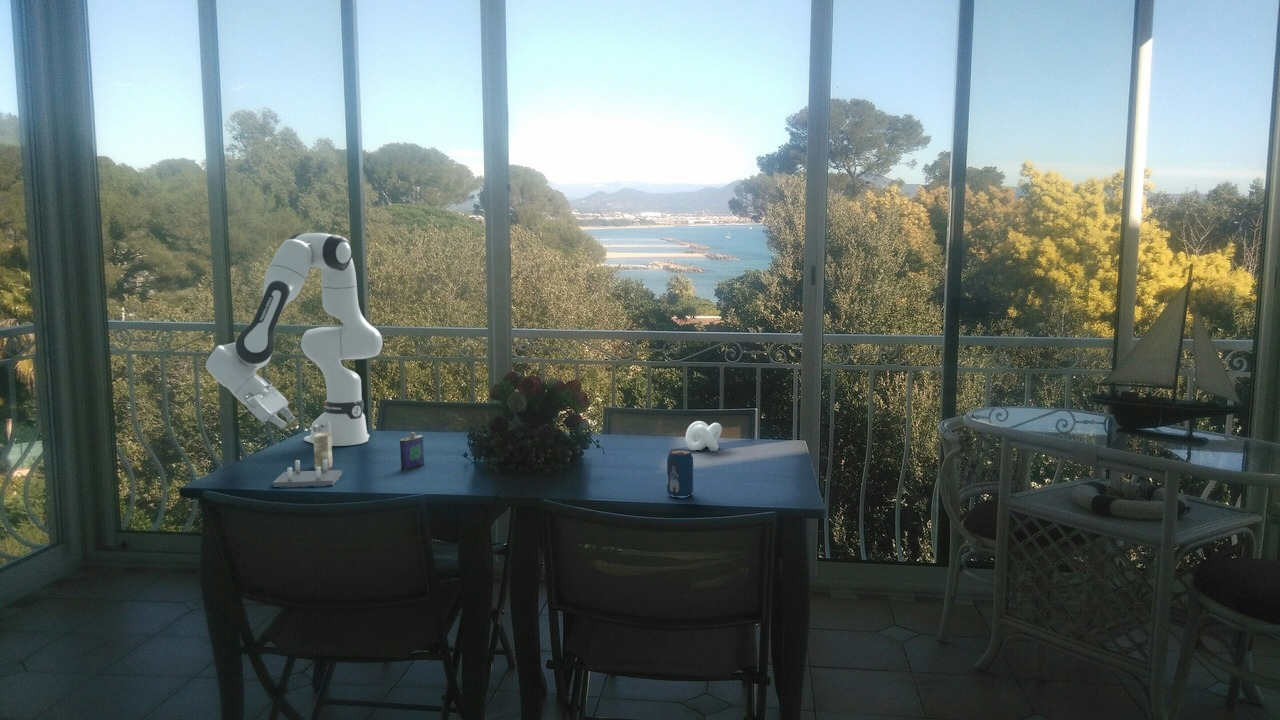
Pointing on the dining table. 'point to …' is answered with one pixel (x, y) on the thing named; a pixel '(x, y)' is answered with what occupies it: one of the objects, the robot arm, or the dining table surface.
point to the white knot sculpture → (703, 436)
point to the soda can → (680, 472)
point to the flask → (412, 451)
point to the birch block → (322, 449)
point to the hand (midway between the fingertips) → (289, 423)
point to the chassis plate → (307, 477)
